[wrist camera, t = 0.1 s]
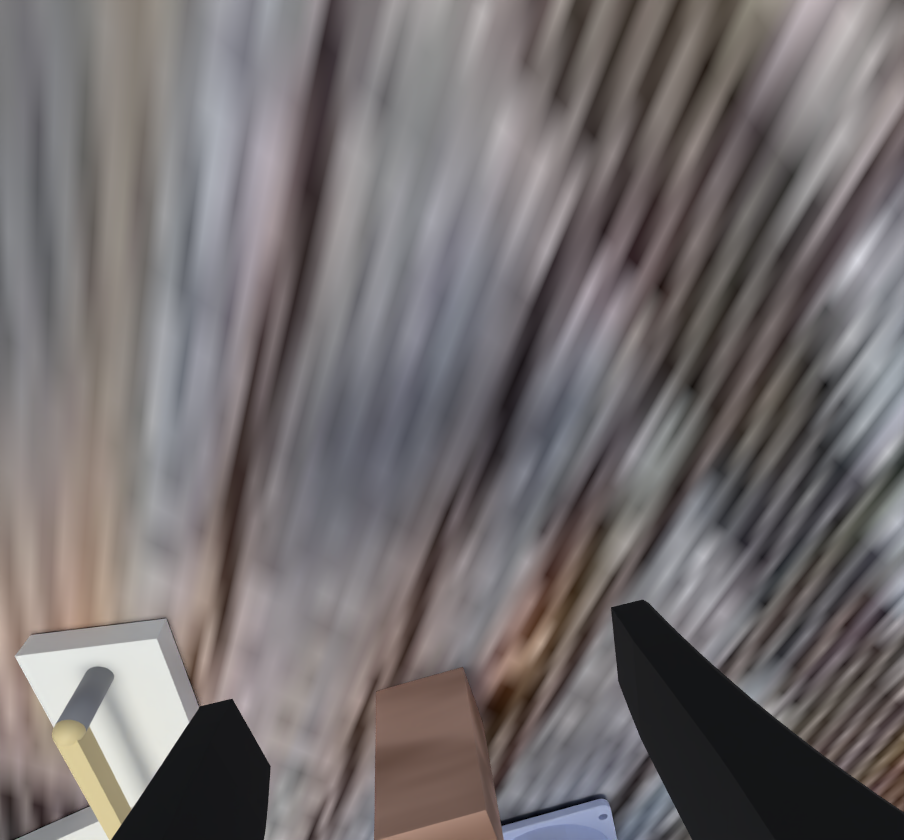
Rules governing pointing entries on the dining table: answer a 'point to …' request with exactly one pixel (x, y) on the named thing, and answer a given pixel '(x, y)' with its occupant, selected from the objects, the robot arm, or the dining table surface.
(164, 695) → the wire track
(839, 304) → the dining table surface
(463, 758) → the rust block
